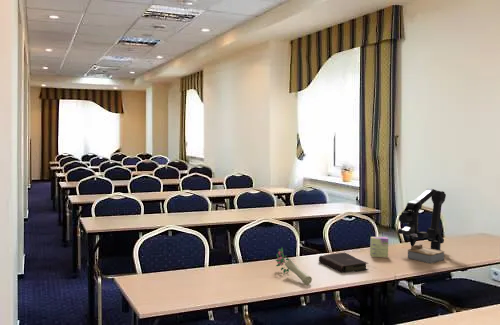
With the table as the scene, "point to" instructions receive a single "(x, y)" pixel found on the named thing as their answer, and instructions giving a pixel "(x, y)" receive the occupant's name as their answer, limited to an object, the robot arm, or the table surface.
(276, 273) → the table surface
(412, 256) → the base
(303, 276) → the flower vase
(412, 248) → the lid
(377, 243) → the box
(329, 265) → the diary
